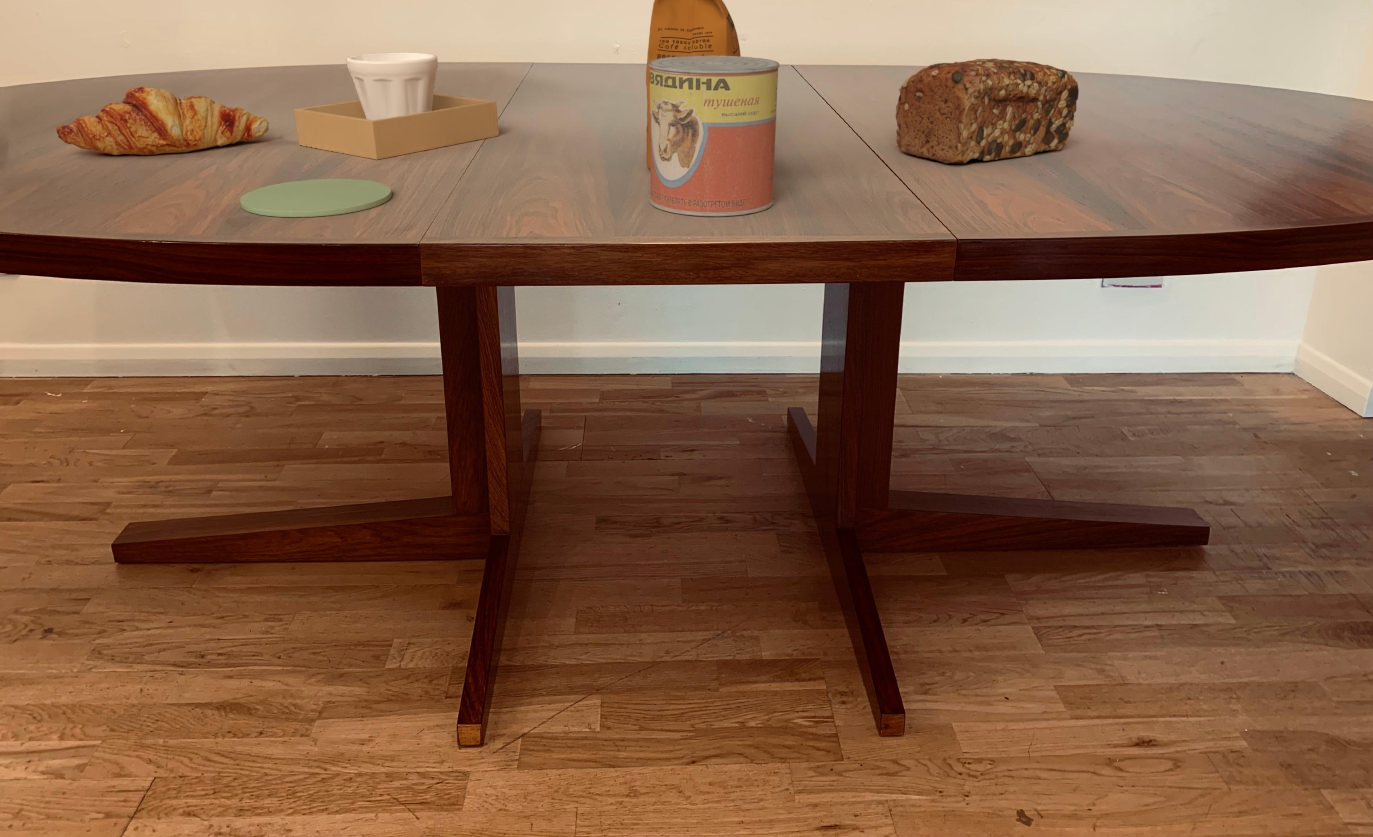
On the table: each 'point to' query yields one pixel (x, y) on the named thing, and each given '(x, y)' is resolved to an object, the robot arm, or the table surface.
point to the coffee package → (688, 35)
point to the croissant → (161, 125)
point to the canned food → (712, 134)
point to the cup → (394, 83)
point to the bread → (985, 110)
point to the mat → (315, 197)
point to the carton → (396, 127)
